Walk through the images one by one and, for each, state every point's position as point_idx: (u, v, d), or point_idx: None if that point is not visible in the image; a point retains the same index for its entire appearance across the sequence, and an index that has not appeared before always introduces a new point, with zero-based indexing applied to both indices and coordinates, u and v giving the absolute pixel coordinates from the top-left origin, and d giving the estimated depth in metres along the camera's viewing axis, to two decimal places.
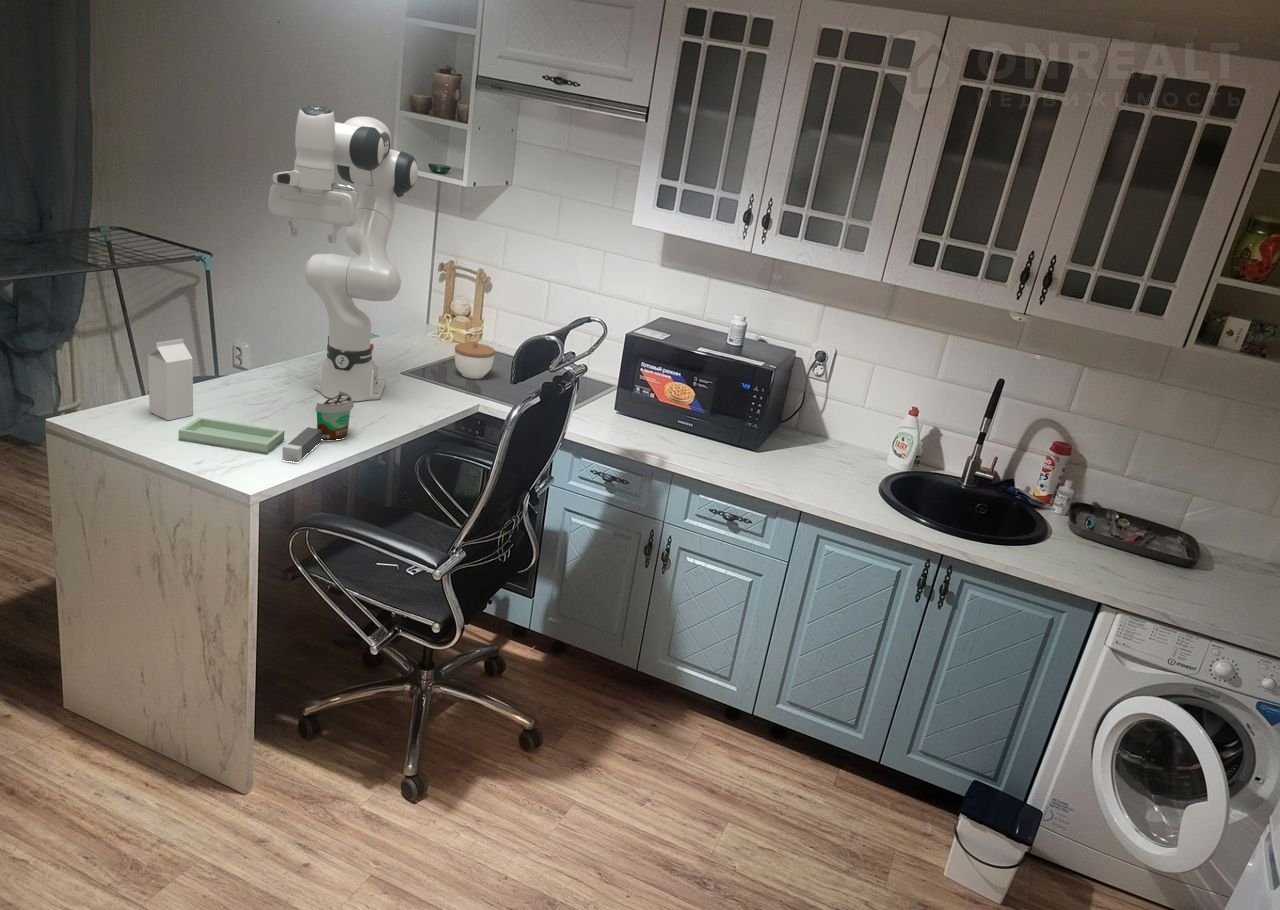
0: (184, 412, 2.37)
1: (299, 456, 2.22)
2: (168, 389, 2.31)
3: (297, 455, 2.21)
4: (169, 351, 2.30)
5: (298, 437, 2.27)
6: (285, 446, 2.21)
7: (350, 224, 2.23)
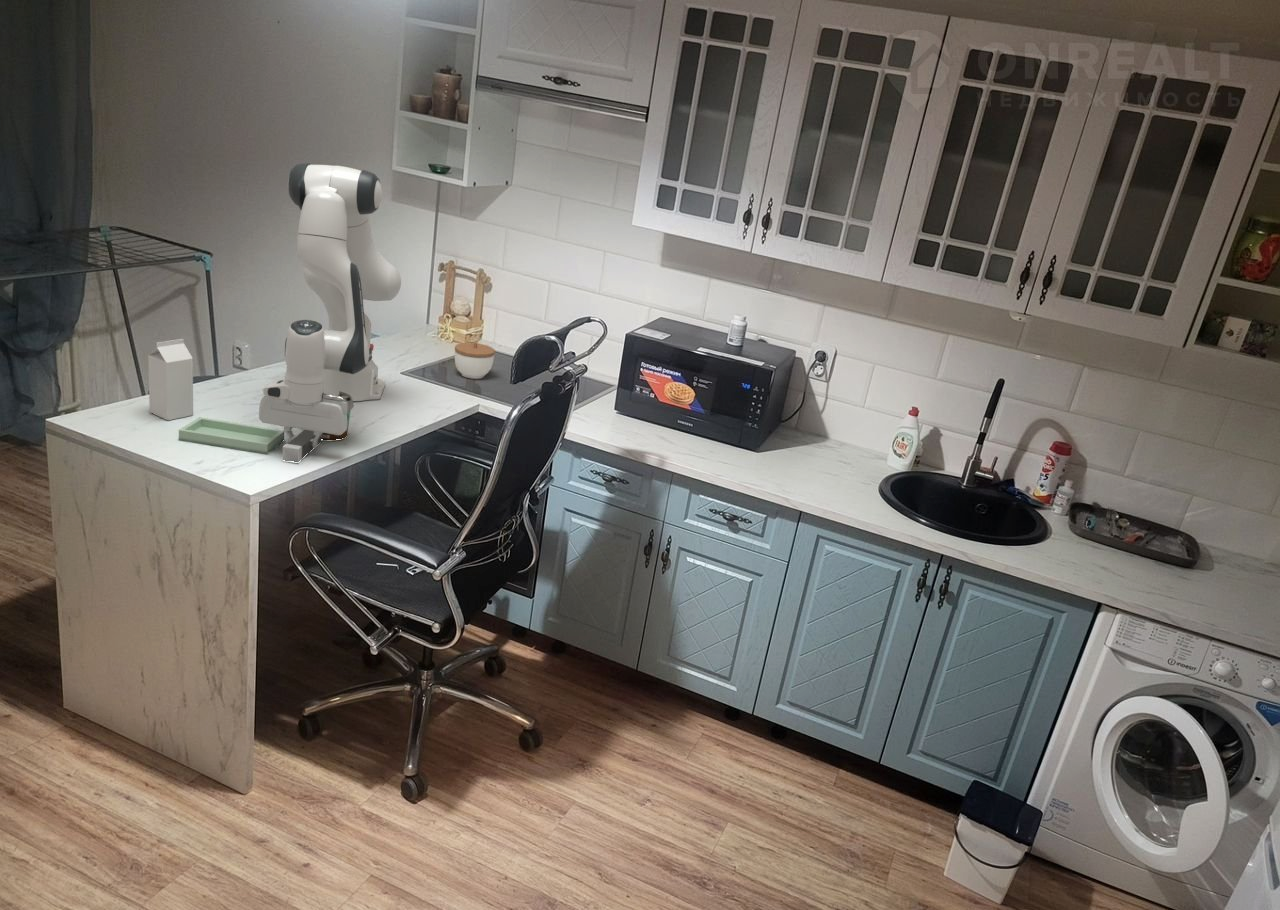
0: (184, 412, 2.37)
1: (299, 456, 2.22)
2: (168, 389, 2.31)
3: (297, 455, 2.21)
4: (169, 351, 2.30)
5: (298, 437, 2.27)
6: (285, 446, 2.21)
7: (340, 433, 2.25)
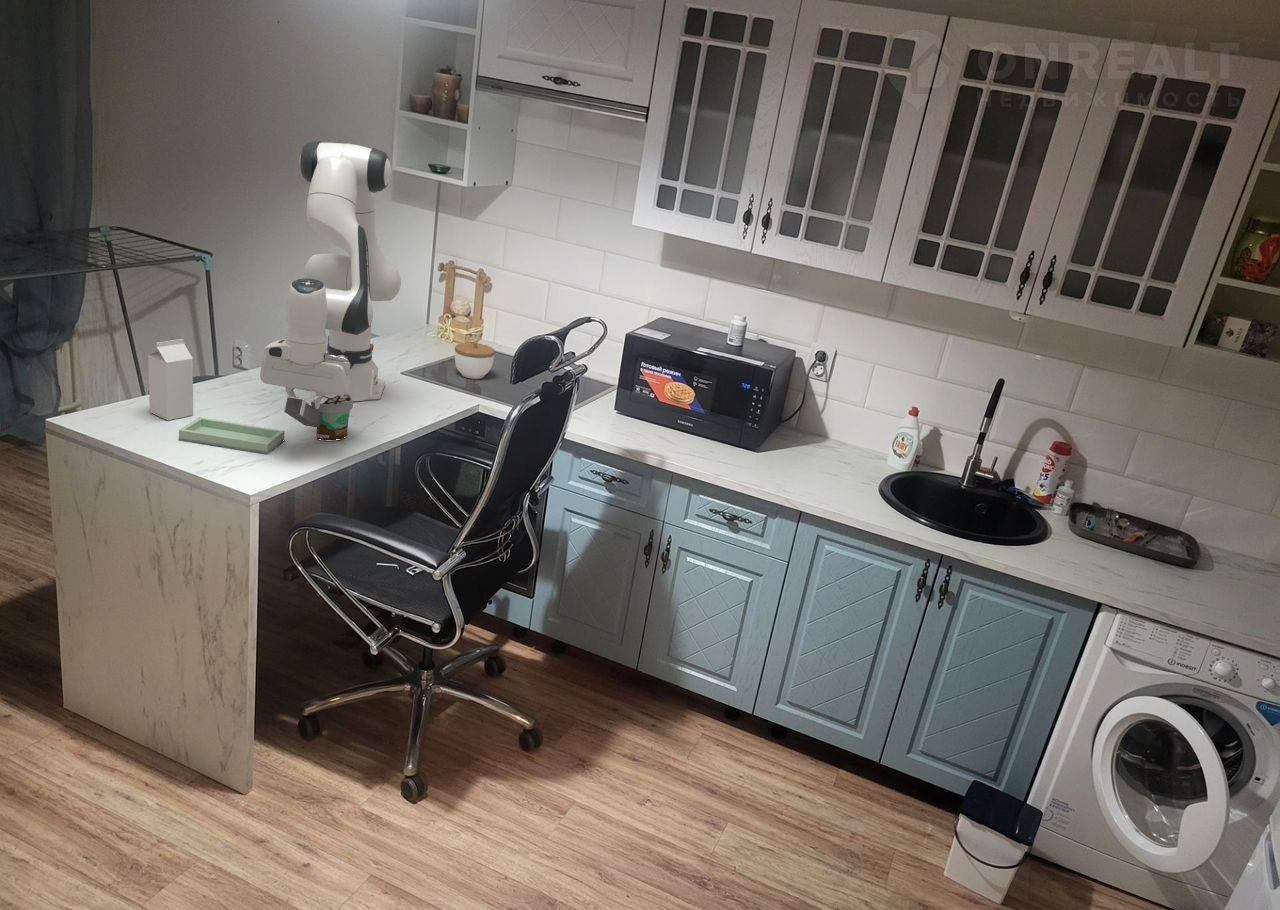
0: (184, 412, 2.37)
1: (302, 408, 2.18)
2: (168, 389, 2.31)
3: (300, 405, 2.18)
4: (169, 351, 2.30)
5: None
6: (290, 397, 2.19)
7: (343, 394, 2.22)
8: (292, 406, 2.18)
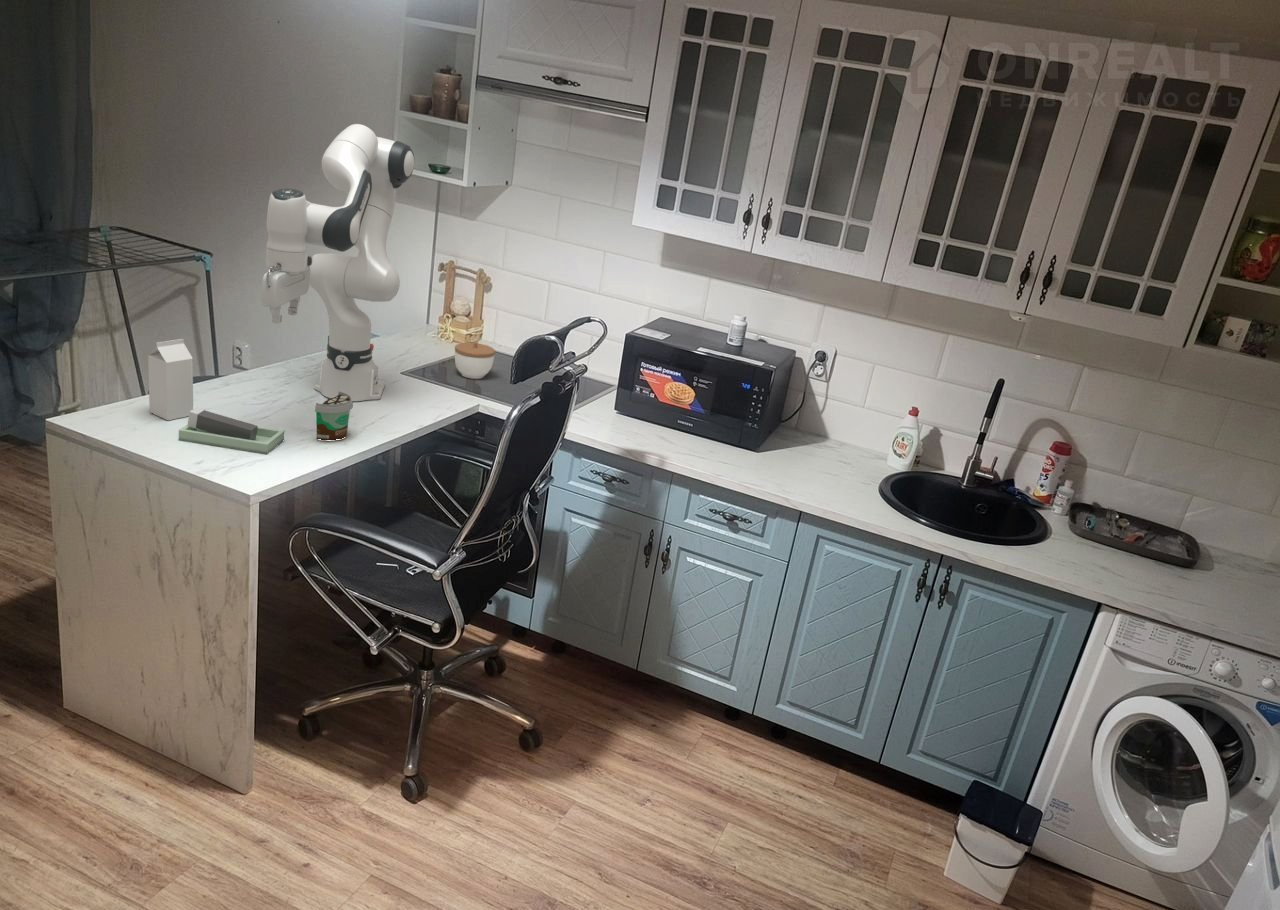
0: (184, 412, 2.37)
1: (191, 420, 2.25)
2: (168, 389, 2.31)
3: None
4: (169, 351, 2.30)
5: (226, 417, 2.28)
6: (198, 408, 2.28)
7: None
8: None
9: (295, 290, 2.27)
